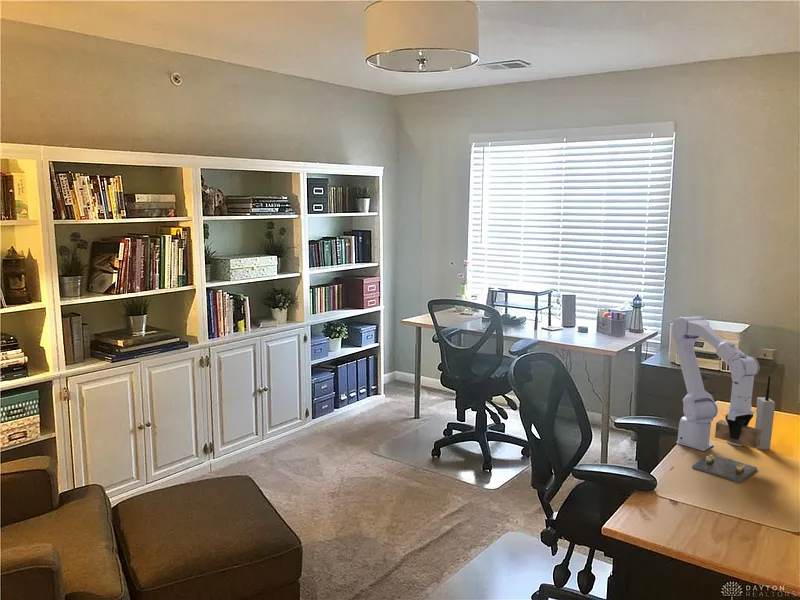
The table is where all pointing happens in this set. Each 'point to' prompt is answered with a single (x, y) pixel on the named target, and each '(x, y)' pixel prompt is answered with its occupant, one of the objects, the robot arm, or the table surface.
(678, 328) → the robot arm
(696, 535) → the table surface
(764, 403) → the vintage mobile phone
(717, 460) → the plate
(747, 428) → the walnut bar
